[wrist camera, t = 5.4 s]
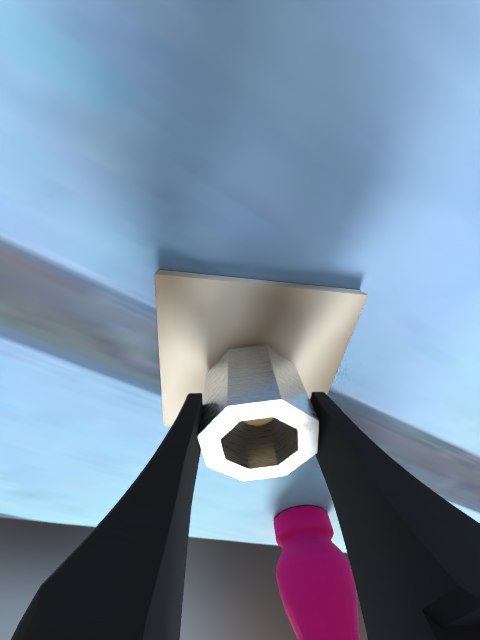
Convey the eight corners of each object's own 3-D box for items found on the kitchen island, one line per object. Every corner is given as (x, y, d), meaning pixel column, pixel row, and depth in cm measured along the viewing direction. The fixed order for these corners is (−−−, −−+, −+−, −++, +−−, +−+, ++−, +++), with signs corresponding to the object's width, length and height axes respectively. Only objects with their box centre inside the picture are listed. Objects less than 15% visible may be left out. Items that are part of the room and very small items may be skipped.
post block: (360, 289, 12) (413, 324, 9) (308, 421, 17) (329, 476, 14) (158, 269, 11) (128, 299, 8) (166, 416, 16) (149, 475, 13)
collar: (311, 375, 13) (342, 434, 10) (257, 423, 15) (265, 490, 11) (244, 330, 12) (251, 381, 8) (191, 390, 13) (178, 455, 10)
